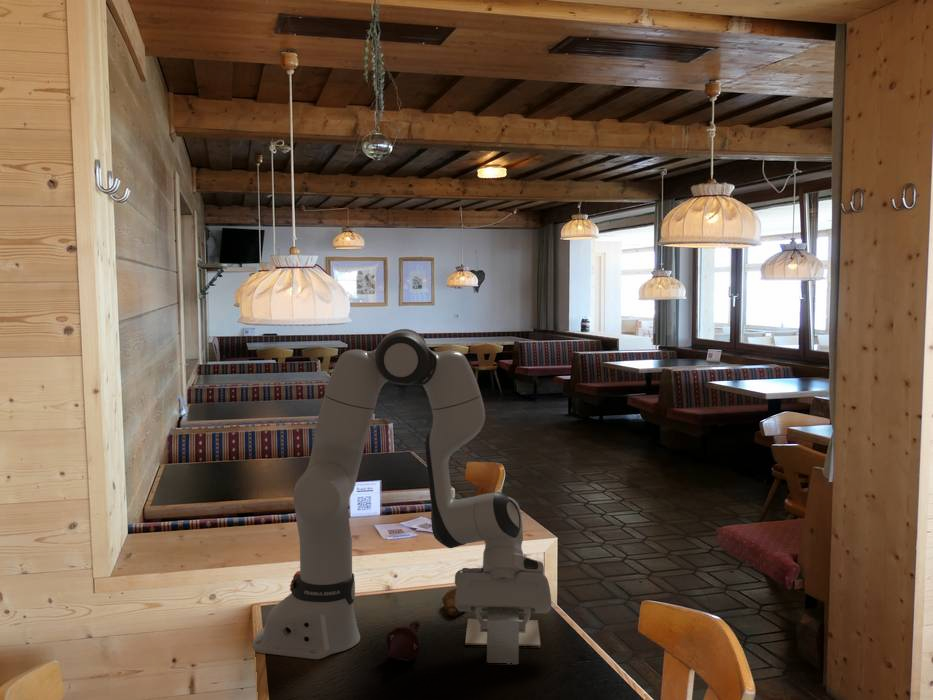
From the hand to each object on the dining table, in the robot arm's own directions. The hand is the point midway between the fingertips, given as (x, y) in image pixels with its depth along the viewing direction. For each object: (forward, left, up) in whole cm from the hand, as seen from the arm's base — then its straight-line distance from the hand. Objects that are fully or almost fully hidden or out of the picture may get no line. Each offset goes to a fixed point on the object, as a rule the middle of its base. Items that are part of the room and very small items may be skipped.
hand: (502, 631), depth 163 cm
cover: (0, +1, -6) cm, 6 cm away
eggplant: (-20, -1, -6) cm, 21 cm away
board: (0, +12, -6) cm, 13 cm away
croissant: (-11, +27, -6) cm, 30 cm away
